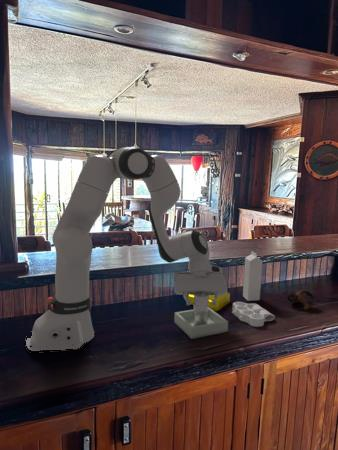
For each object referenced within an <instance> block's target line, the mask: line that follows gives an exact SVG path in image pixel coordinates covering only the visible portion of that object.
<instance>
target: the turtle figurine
mask: <svg viewBox="0 0 338 450" xmlns="http://www.w3.org/2000/svg"><path fill="white" fill-rule="evenodd" d="M302 294H305V295H306V296H308V297H310V299H311V300H307V299H306V298H305V297H304V296H303V295H302ZM285 297H286V301H288V302H289V303H290V305H294V303H295V302H297V303H300V302H301V303H302V304H304V306H303V310H304V311H307V310H309V309H311V308H313V307H314V306H315V302H316V298H315V296H314V294H313V293H312V292H310V291H308V290H306V289H301V290H299V291H295V293H293V292H288V293H287V294H286V296H285ZM307 301H308V302H307Z"/></svg>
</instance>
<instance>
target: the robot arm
mask: <svg viewBox="0 0 338 450" xmlns="http://www.w3.org/2000/svg"><path fill="white" fill-rule="evenodd" d="M117 179H123V180H127V181H128V180H129V181H131V180H132V181H133V180H136V181H138V180H142V181H143V183H145V186H146V188H147V190H148V193H149V196H150V203H149V204H148V214H149V215H148V216H149V220H150V223H151V227H152V229H153V234H154V237H155V240H156V244H157V250H158V253H159V254H158V255H159V257H160V259H162V260H163V261H165V262H167V263H169V264H171V263H175V262H177V261H178V260H183V259H185V258H188V263H187V264H188V265H187V268H188V271H180V270H179V271H178V270H177V271H176V272H174V273H173V275H172V279H173V281H174V286H173V292H174V294H175V295H181V296H183V299H184V300H185V302H186V304H185V305H186V306H192V305H191V299H188V295H194V293H196V292H206V293H208V294H209V295H214V298H215V299H214V300H212V306H216V300H217V298H218V296H219V295H225V294H226V293H227V292H228V285H227V280H226V277H225V275H223V268H222V267H219V266H216V265H213V264H211V262H210V256H211V255H210V247H209V246H210V245H209V243H208V242H209V241H208V240H207V237H206V236H205V234H202V233H201V232H199V231H197V230H195V229H194V230H190V231H189V230H188V231H185V232H182V233H179V234H175V235H172V236H171V235H168V232H167V231H168V230H167V228H166V224H165V222H164V215H165V214H166V213H167V212H169V210H171V209H172V208H173V207H174V206H175V205H176V203H178V201H179V199H180V198H181V192H182V191H181V187H180V184H179V182H178V180H177V177H176V175H175V173H174V171H173V169H172V167H171V166H170V164H169V162H168V161H167V159H166V158H165V157H164V156H163V155H160V154H152V155H150V154H149V153H147V152H146V151H145V150H144V149H142V148H140V147H138V146H123V147H119V148H116V149H115V150H113V151H112V152H110V153H109V154H108V155H107V156H105V155H101V154H94V155H90V156H89V158H88V159H87V160H86V162H85V164H84V165H83V167H82V169H81V171H80V173H79V175H78V177H77V180H76V183H75V185H74V187H73V189H72V190H73V191H72V192H71V194H70V198H69V201H68V203H67V204H66V207H65V208H64V211H63V212H62V215H61V216H60V218H59V221H58V223H57V224H56V227H55V229H54V232H53V234H52V238H51V239H52V244H53V246H54V248H55V253H56V256H55V275H54V280H55V281H54V285H55V297H54V298H53V296H49V297H47V299H46V301H47V304H48V305H49V307H48V308H49V309H48V310H47V311H46V312H45V313H43V314H42V315H40V317H38V318H37V319H36V320H34V321H35V322H34V324H33V326H32V331H31V332H32V336H31V338H27V340H26V339H25V341H26V345H25V347H26V346H27V348H28V349H29V350H31V351H40V350H41V351H42V350H61V351H67V350H66V349H73V350H79V349H81V348H82V347H83V346H84V345H85V344H87V343H88V342H90V341H92V339H93V338H94V337H95V335H94V333H95V330H94V327H93V323H92V317H91V310H92V297H91V295H90V269H91V263H92V262H91V261H92V252H93V241H92V239H91V236H90V235H89V234H90V232H91V229H92V228H93V227H94V225H95V222H97V220H98V219H99V218H100V216H101V215H102V211H103V209H104V207H105V204H106V201H107V199H108V197H109V193H110V191H111V188H112V186H113V184H114V182H115V181H116V180H117ZM86 342H87V343H86ZM84 343H85V344H84ZM83 344H84V345H83ZM82 345H83V346H82ZM30 346H32V347H30ZM81 346H82V347H81ZM80 347H81V348H80ZM27 348H26V349H27ZM78 348H79V349H78Z"/></svg>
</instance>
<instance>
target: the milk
mask: <svg viewBox="0 0 338 450" xmlns="http://www.w3.org/2000/svg"><path fill="white" fill-rule="evenodd" d="M250 252H251V253H250V254H249V255H247V256H245V258H244V268H243V269H244V271H243V287H242V288H243V289H242V297H243V298H245V300H246V301H248V302H249V301H250V302H251V301H253V302H254V301H260V299H261V288H262V287H261V285H262V275H263V274H262V272H263V260H262V259H260V258H259V257H258V253H256V252H254V251H252V250H251V251H250Z"/></svg>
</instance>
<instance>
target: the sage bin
mask: <svg viewBox="0 0 338 450" xmlns="http://www.w3.org/2000/svg"><path fill="white" fill-rule="evenodd" d="M174 323H175V325H176V326H177V327H178V328H179V329H180V330H181V331H182V332H184V334H186V335H187V337H189V339H191V340H192V339H193V340H194V339H197V338H203V337H208V336H213V335H219V334H223V333H228V330H229V329H228V328H229V321H228V320H227V319H225V318H224V317H222V316H221V315H220V314H219V313H217V311H213V310H212V309H210V308H209V307H208V324H204V325H198V326H193V309H189V310H182V311H176V312H174Z"/></svg>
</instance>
